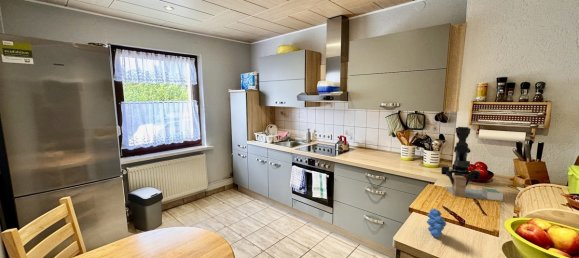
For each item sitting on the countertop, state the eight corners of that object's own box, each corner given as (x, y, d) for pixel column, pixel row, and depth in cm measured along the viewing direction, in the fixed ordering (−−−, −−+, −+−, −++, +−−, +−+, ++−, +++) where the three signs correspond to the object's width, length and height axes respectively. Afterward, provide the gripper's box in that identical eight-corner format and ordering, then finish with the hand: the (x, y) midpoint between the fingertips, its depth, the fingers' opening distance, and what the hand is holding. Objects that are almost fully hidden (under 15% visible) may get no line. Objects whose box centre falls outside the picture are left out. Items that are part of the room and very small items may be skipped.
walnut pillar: (451, 192, 145) (453, 175, 144) (461, 193, 144) (462, 175, 143) (454, 196, 140) (456, 177, 139) (464, 197, 139) (466, 178, 138)
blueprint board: (444, 187, 156) (445, 180, 155) (488, 191, 149) (489, 184, 149) (453, 196, 141) (454, 189, 140) (503, 201, 134) (504, 193, 133)
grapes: (452, 246, 93) (454, 216, 92) (433, 244, 95) (435, 214, 93) (439, 230, 105) (441, 203, 103) (422, 228, 106) (424, 202, 104)
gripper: (442, 153, 148) (440, 175, 140) (481, 157, 137) (481, 181, 130) (442, 163, 155) (440, 184, 148) (479, 167, 145) (478, 191, 137)
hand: (459, 185), depth 140 cm, fingers closed on walnut pillar, 6 cm apart
